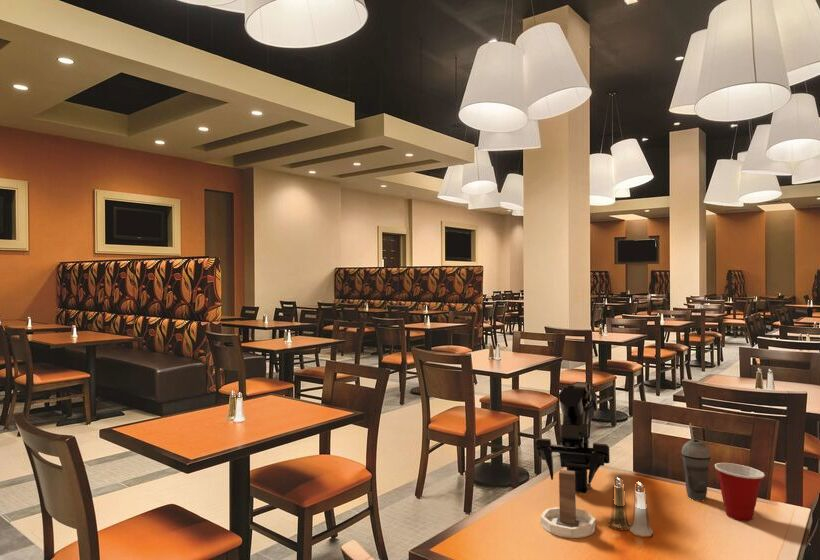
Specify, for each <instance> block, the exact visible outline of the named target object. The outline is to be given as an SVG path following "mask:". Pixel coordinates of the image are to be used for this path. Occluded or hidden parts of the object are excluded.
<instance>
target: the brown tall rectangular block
mask: <svg viewBox="0 0 820 560" xmlns="http://www.w3.org/2000/svg"><path fill="white" fill-rule="evenodd" d="M558 487H559V488H558V489H559V490H558V491H559V492H558V493H559V496H558V497H559V507H560V515H558V518H557V522H556V524H557V525H562V526H567V527H571V528H572V527H579V522H580V518H576V509H577V508H576V506H577V503H576V498H577V497H576V491H575V471H568V470H567V469H560V470H559V472H558Z"/></svg>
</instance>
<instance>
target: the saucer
mask: <svg viewBox="0 0 820 560" xmlns="http://www.w3.org/2000/svg"><path fill="white" fill-rule="evenodd" d="M558 515H560V506H557V507H550V508H546V509H545V510H544V511H543V512H542V514H541V515H540V524H541V526H542V528H543V529H544V530H545V531H546V532H547V533H549V534H552V535H555V536H557V537H559V538H560V537H561V538H566V539H567V538H568V539H583V538H588V537H590V536H592V535H593V534H594V533H595V531H596V517H594V516H593V515H592V514H590V513H589V512H588V511H586V510H583V509H579V508H576V518H580V522H579V527H572V528H571V527H567V526H562V525H557V524H556V522H557V518H558Z"/></svg>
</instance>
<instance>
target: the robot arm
mask: <svg viewBox="0 0 820 560" xmlns="http://www.w3.org/2000/svg"><path fill="white" fill-rule="evenodd" d="M558 401H559V404H560V405H559V406H560V408H561V413H562V424H560V432H559V435H560V436H559V443H560V444H554V443H552V440H551V439H549V438H540V437H539V438H536V439H535V440H534V441H535V442H534V448H535V453H536V457H539V458H541V460H543V461H545V464H546V465H547V468H548V472H549V476H550V479H551V481H553V480H554V460H553V453H559V460H560V467H561V468H566V470H568V471H575V493H576V492H577V493H583V494H586V493H588V491H589V490H590V489H591V486H592V484H591V483H592V481H593V479H594V477H595V475H596V473H597V472H598V470H599V468H600V467H603V466H605V464H610V462H611V461H610V459H611V458H610V457H611V456H610V455H611V454H610V446H609V445H608V444H607V443H597V442H593V443H592V447H590V441H589V421H590V420H592V419H593V418H595V416H596V412H598V396H597V393H596V391H594V390H593V389H592V388H591V383H589V382H587V381H585V382H584V381H575V382H573V383H572V385H564V386H563V389H561V390H560V392H559V395H558Z"/></svg>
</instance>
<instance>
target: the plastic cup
mask: <svg viewBox="0 0 820 560" xmlns="http://www.w3.org/2000/svg"><path fill="white" fill-rule="evenodd" d="M714 467H715V470H716V473H717V477H718V478H717V479H718V480H719V486H720V492H721V498H722V502H723V506H724V511H725V514H726V516H727V517H729V518H730V519H732V520H736V521H740V522H741V521H743V522H748V521H752V520H753V518H754V515H755V510H756V505H757V502H758V501H757V500H758V496H759V489H760V486H761V483H762V480H763V479H764V477H765V476H766V475H765V472H763V471H761V470H759V469H756V468H754V467H751V466H747V465H742V464H738V463H732V462H731V463H729V462H717V463H715V464H714Z"/></svg>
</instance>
